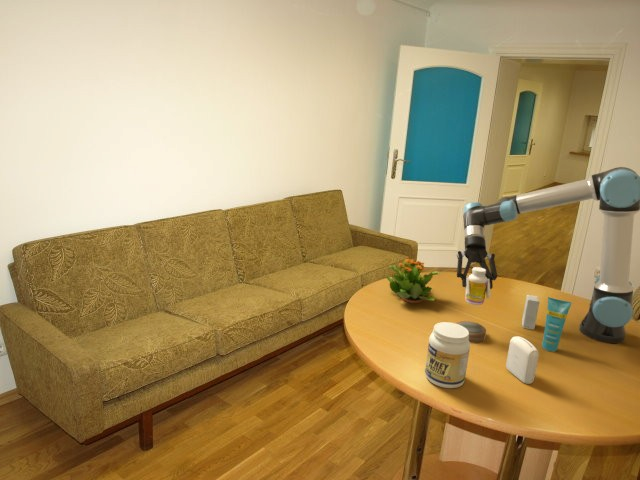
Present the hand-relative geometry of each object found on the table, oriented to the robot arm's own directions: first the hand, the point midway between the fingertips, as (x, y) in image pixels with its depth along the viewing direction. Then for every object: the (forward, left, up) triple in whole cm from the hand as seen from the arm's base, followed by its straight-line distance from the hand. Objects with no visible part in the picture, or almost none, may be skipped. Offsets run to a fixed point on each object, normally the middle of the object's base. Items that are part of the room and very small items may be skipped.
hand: (478, 295), depth 165 cm
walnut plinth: (+3, -2, -17) cm, 18 cm away
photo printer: (-24, +3, -18) cm, 30 cm away
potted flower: (+38, -2, -18) cm, 42 cm away
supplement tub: (-16, +27, -18) cm, 36 cm away
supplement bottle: (+3, -2, -4) cm, 6 cm away
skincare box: (0, -30, -18) cm, 35 cm away
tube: (-16, -22, -17) cm, 32 cm away
